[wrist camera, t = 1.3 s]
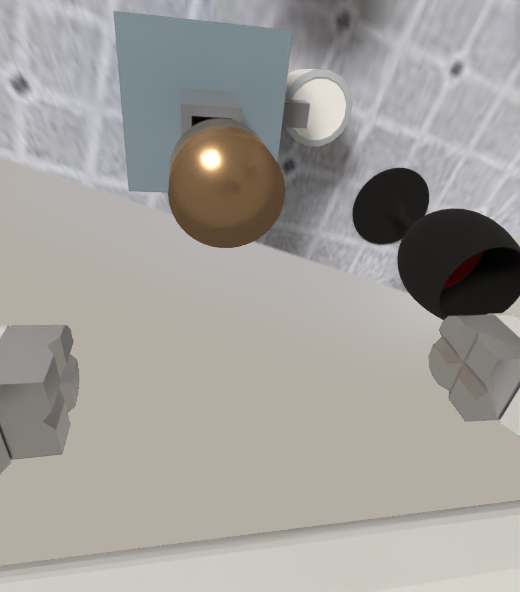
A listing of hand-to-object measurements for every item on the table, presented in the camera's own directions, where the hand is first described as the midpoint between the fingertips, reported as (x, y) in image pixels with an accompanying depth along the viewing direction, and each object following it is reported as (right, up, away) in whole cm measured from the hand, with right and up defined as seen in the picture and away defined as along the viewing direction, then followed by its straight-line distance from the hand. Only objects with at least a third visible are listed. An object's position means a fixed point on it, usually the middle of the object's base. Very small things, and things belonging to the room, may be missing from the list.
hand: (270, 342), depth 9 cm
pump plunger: (-3, +11, +17) cm, 20 cm away
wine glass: (+17, +13, +45) cm, 50 cm away
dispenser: (-5, +22, +34) cm, 41 cm away
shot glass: (+4, +23, +36) cm, 43 cm away
